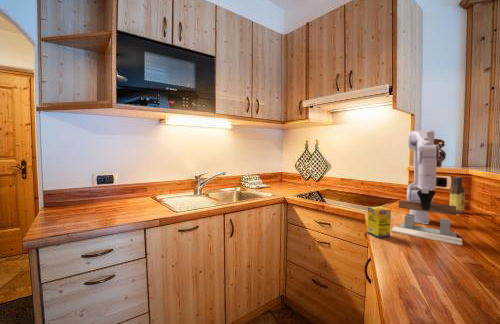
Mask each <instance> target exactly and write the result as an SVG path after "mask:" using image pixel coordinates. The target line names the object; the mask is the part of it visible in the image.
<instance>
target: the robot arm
mask: <svg viewBox="0 0 500 324" xmlns="http://www.w3.org/2000/svg"><path fill="white" fill-rule="evenodd" d="M407 134H408V135H407V136H408V137H407V141H408V142H407V144H408V145H407V146H408V149H409V150H410V149H411V150H412V151H413V170H414V171H413V182H411V183H410V184H408V185H407V189H406V201H415V202H421V207H422V210H429V209H430V205H431V203H432V204H433V200H434V196H435V195H436V194H437V166H438V165H437V164H438V163H437V162H438V159H439V156H440V146H439V144H435V143H434V142H435V131H434V130H433V129H428V130H426V129H425V130H424V129H423V130H409V131H408V133H407ZM409 214H413V215H415V219H414V223H415V224H416V223H417V224H423V225H429V223H430V221H431V220H430V219H429V212H426V211H418V210H411V209H409Z"/></svg>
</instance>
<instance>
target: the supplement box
mask: <svg viewBox="0 0 500 324" xmlns="http://www.w3.org/2000/svg"><path fill="white" fill-rule="evenodd" d="M391 217H392V210H391V209H390V208H387V207H383V206H368V207H367V219H366V220H367V223H366V226H367V227H366V234H369V235H371V236H373V237H375V238H377V239H380V238H381V239H382V238H390V237H391Z"/></svg>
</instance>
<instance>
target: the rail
mask: <svg viewBox="0 0 500 324" xmlns="http://www.w3.org/2000/svg"><path fill="white" fill-rule="evenodd" d="M398 208H399V209H405V210H410V209H411V210H418V211H426V212H428V213H433V214H442V215H448V216H457V213H456V206H450V205H447V204H439V203H433V202H432V203H431V205H430V209H429V210H422V207H421V202H415V201H408V200H407V199H406V200H405V199H399V200H398Z"/></svg>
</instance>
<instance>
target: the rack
mask: <svg viewBox="0 0 500 324" xmlns="http://www.w3.org/2000/svg"><path fill="white" fill-rule="evenodd" d="M414 219H415V215H413V214H410V213H406V214H405V215H404V222H401V223H400V224H399V225H398V227H401V228H406V229H412V230H417V231H422V232H428V233H433V234H439V235H444V236H450V237H455V238H458V237H457V232H455V231H451V219H448V218H447V219H446V218H440V222H439V229H437V228H432V227H425V226H420V225H415V222H414Z"/></svg>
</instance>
